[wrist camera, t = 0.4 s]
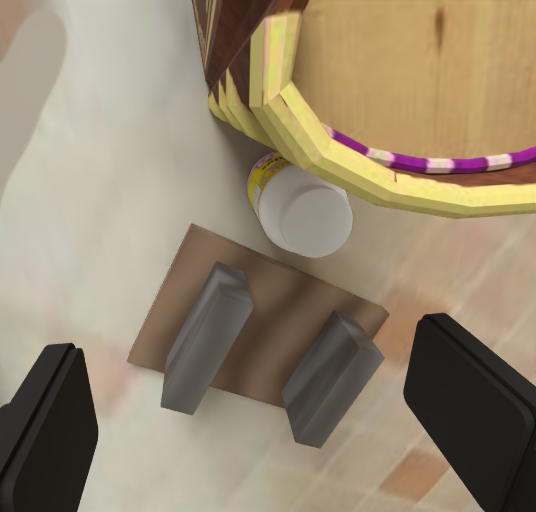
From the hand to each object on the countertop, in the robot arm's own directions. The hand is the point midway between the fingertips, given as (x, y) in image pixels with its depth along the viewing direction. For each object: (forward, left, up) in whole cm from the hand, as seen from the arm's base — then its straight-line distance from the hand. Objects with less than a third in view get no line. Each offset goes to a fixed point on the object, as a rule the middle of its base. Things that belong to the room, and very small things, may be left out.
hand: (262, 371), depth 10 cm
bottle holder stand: (-11, +12, -26) cm, 31 cm away
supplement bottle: (-5, -3, -26) cm, 27 cm away
